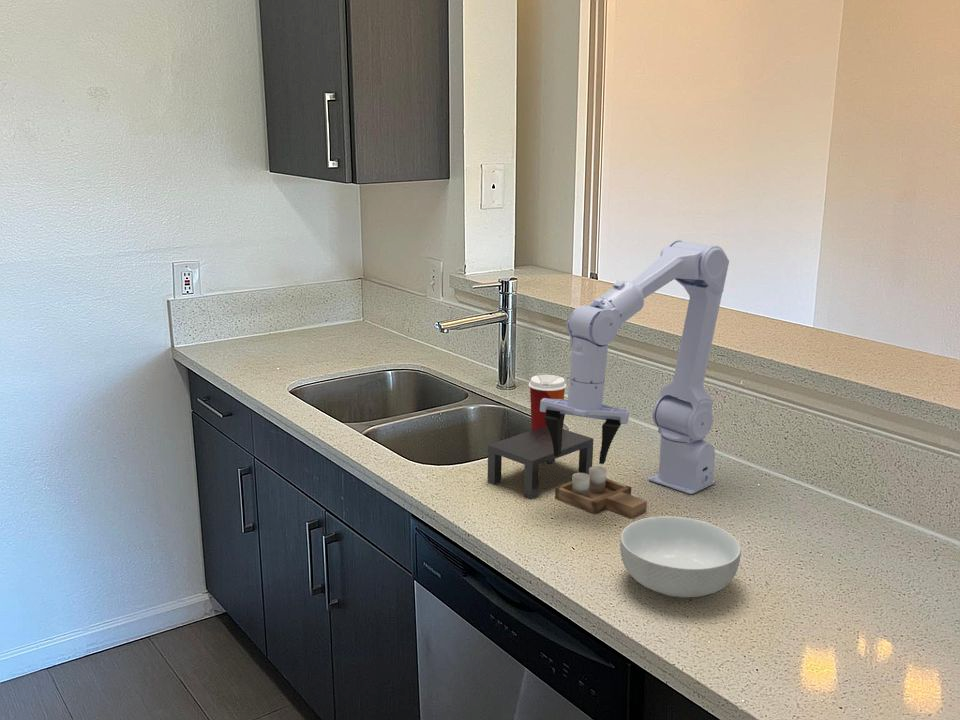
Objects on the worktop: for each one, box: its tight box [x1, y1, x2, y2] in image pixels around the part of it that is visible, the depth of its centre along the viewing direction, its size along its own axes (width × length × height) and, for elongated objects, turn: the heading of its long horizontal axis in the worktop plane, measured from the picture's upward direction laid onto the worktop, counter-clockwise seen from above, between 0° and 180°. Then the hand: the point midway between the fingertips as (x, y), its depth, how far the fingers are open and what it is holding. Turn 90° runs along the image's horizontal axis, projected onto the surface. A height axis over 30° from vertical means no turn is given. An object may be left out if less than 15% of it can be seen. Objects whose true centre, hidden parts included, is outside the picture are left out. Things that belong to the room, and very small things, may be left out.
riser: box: [487, 425, 594, 500], centre depth 170 cm, size 11×17×7 cm, turn 134°
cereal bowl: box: [619, 515, 742, 599], centre depth 132 cm, size 17×17×7 cm
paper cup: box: [528, 374, 568, 430], centre depth 187 cm, size 8×8×14 cm
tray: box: [554, 465, 648, 519], centre depth 160 cm, size 14×10×4 cm
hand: (579, 458), depth 153 cm, fingers open, 7 cm apart
